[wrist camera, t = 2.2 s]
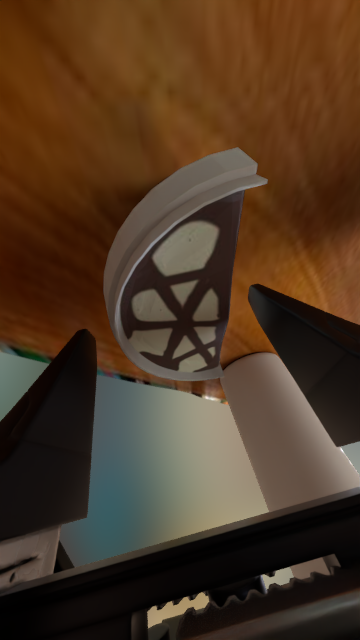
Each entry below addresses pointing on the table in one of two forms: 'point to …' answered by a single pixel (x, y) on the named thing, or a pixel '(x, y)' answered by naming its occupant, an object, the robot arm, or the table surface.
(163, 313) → the food container
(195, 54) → the table surface
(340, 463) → the cylinder vase
